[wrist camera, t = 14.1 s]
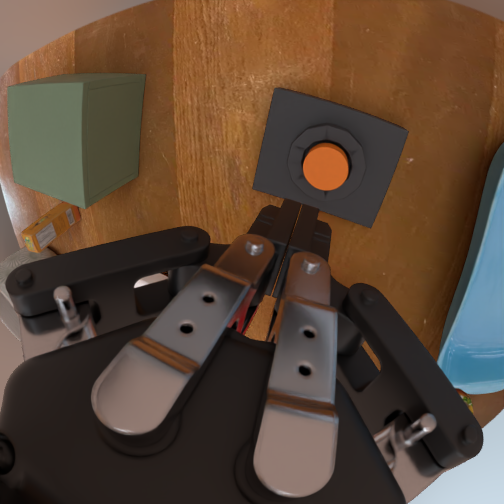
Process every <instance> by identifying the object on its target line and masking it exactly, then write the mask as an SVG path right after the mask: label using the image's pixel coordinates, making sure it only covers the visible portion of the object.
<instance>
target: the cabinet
mask: <svg viewBox="0 0 504 504" xmlns="http://www.w3.org/2000/svg"><path fill="white" fill-rule="evenodd" d="M145 78H146V74H128V73H78V74H62V75H57V76H51V77H46V78H42V79H37V80H33V81H28V82H24V83H20V84H16V85H13V86H9V87H8V130H9V144H10V154H11V163H12V171H13V178H14V183H17V184H20V185H22V186H25V187H27V188H30V189H33V190H35V191H38V192H41V193H43V194H46V195H48V196H51V197H54V198H56V199H59V200H62V201H64V202H67V203H70V204H72V205H75V206H78V207H80V208H83V209H86V208H88V207H89V206H91V205H93V204H94V203H96V202H97V201H99V200H100V199H102V198H103V197H105V196H107V195H108V194H110V193H111V192H113V191H115V190H116V189H118V188H119V187H121V186H123V185H124V184H126V183H128V182H129V181H131V180H133V179H134V178H136V177H138V168H139V146H140V130H141V117H142V106H143V96H144V87H145Z"/></svg>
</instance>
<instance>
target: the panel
mask: <svg viewBox="0 0 504 504" xmlns="http://www.w3.org/2000/svg"><path fill="white" fill-rule="evenodd" d="M408 132H409V131H407V130H406V129H405V128H403V127H401V126H399V125H396V124H394V123H391V122H389V121H386V120H384V119H381V118H379V117H376V116H373V115H371V114H368V113H365V112H362V111H359V110H357V109H354V108H351V107H348V106H345V105H342V104H338V103H335V102H332V101H329V100H325V99H322V98H319V97H315V96H312V95H308V94H304V93H301V92H297V91H293V90H289V89H285V88H280V87H279V88H274V93H273V97H272V102H271V106H270V111H269V115H268V119H267V124H266V128H265V133H264V138H263V142H262V147H261V151H260V156H259V160H258V165H257V169H256V174H255V179H254V183H253V188H252V189H254V190H257V191H261V192H264V193H267V194H270V195H274V196H277V197H280V198H283V199H285V198H288V199H291V200H294V201H297V202H300V203H302V205H303V203H304V204H307V205H310V206H313V207H316V208H319V210H320V211H323V212H326V213H329V214H332V215H335V216H337V217H340V218H343V219H346V220H349V221H352V222H354V223H357V224H360V225H363V226H366V227H368V228H371V227H372V225H373V223H374V221H375V218H376V216H377V214H378V211H379V209H380V206H381V204H382V202H383V199H384V197H385V194H386V192H387V189H388V187H389V184H390V182H391V179H392V177H393V174H394V171H395V169H396V166H397V163H398V161H399V158H400V155H401V152H402V150H403V147H404V144H405V141H406V138H407V135H408ZM321 143H331V144H334V145H336V146H338V147H339V148H341V149H342V150H343V151H344V153H345V154H346V156H347V159H348V176H347V178H346V180H345V182H344V183H343V184H342V185H341V186H340V187H338V188H336V189H333V190H320V189H318V188H315V187H314V186H312V185H311V184H310V183H309V182H308V181H307V179H306V178H305V175H304V172H303V163H304V160H305V158H306V156H307V154H308V152H309V151H310V149H311V148H312V147H314V146H315V145H318V144H321Z"/></svg>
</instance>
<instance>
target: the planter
mask: <svg viewBox="0 0 504 504" xmlns="http://www.w3.org/2000/svg"><path fill="white" fill-rule="evenodd" d="M53 256H57V255H56V254H55V253H54V252H53V251H51V250H50V249H48V248H47V247H46V248H45V249H44V250H43V251H41V252H40V253H35V252H32V251H28V249H27V247H24V248H22V249H20V250H18V251H17V252H15V253H14V254H12V255H11V256H10V257H8V258H6V259H5V260H4V261H2V262H1V263H0V319H1V321H2V322H3V323H4V324H5V326H6V327H7V328H8V329H9V330H10V332H11V333H12V334H13V335H14V336H15V337H16V338H17V339H18V340H20V341H21V334H20V324H19V318H18V316H17V314H16V312H15V310H14V305H13V303H12V301H11V299H10V297H9V294H8V292H7V290H6V287H5V282H6V279H7V277H8V275H9V274H10V273H11V272H12V271H13V270H14V269H15V268H17V267H19V266H21V265H23V264H27V263H31V262H34V261H38V260H42V259H46V258H49V257H53Z"/></svg>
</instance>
